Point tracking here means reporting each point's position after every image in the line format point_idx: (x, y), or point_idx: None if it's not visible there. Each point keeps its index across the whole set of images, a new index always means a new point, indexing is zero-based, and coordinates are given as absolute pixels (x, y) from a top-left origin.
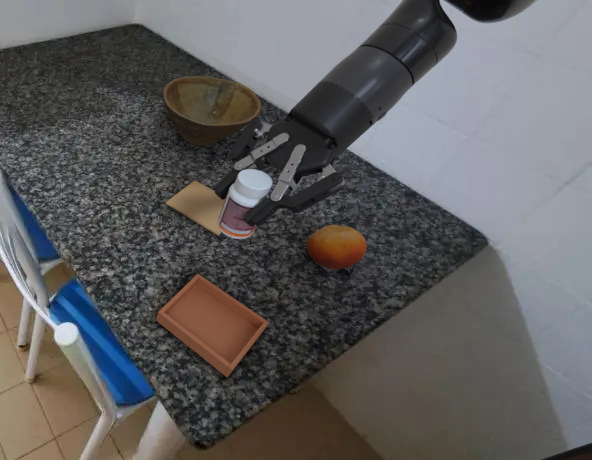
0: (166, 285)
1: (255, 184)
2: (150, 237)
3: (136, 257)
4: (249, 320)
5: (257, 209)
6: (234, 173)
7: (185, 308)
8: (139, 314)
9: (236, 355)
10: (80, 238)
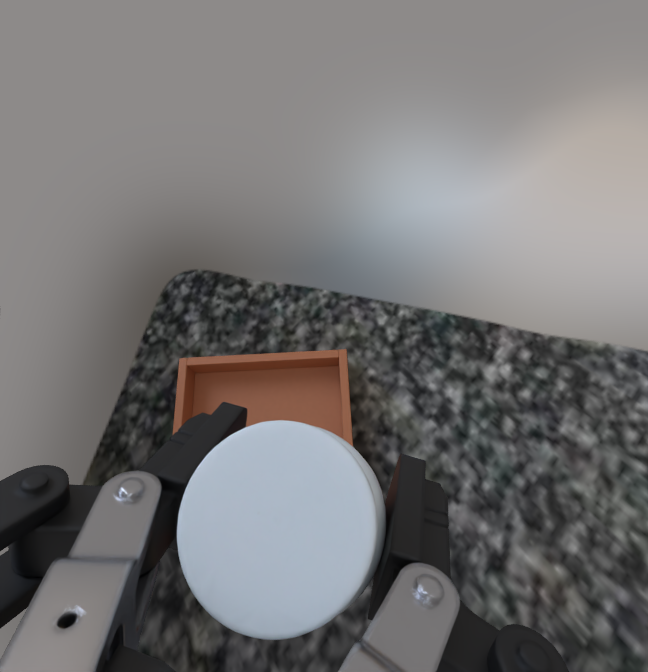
0: (390, 442)
1: (248, 469)
2: (529, 536)
3: (494, 452)
4: None
5: (203, 434)
6: (414, 547)
7: (322, 421)
8: (375, 346)
9: (194, 411)
10: (619, 391)
